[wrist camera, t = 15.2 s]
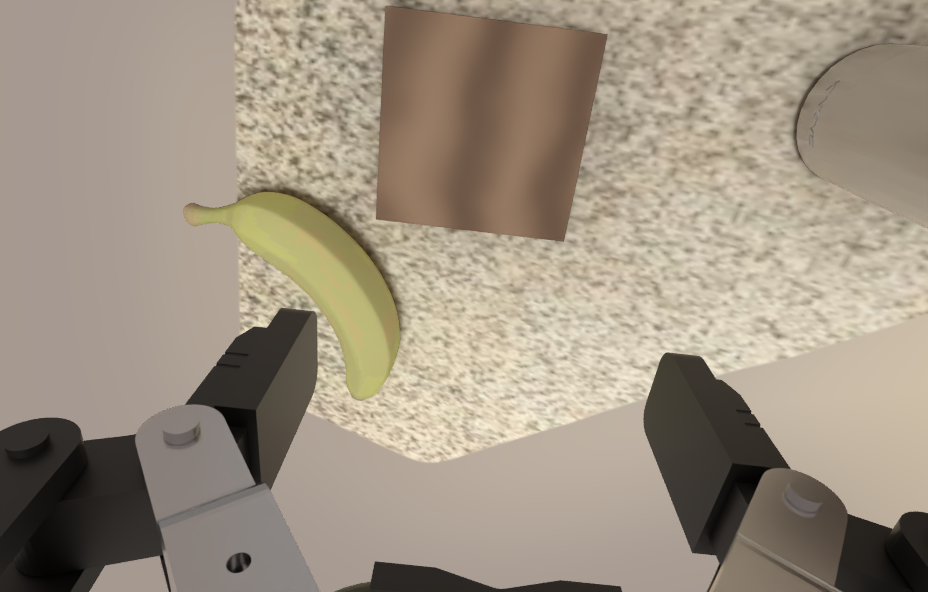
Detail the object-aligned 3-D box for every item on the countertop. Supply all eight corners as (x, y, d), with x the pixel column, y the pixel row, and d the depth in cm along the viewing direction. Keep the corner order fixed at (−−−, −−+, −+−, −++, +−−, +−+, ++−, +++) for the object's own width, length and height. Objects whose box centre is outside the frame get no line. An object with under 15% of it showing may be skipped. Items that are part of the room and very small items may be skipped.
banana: (453, 285, 43) (227, 137, 40) (434, 327, 39) (179, 164, 36) (379, 380, 51) (185, 261, 48) (356, 424, 47) (141, 296, 44)
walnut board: (601, 33, 36) (607, 34, 35) (560, 232, 43) (563, 241, 41) (390, 6, 36) (385, 5, 34) (380, 210, 42) (376, 219, 41)
